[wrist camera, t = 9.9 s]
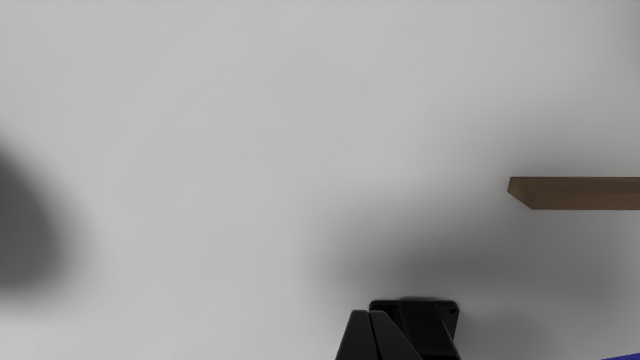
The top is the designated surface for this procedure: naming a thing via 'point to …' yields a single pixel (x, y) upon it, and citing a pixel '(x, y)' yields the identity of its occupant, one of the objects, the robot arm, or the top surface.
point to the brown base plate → (577, 192)
